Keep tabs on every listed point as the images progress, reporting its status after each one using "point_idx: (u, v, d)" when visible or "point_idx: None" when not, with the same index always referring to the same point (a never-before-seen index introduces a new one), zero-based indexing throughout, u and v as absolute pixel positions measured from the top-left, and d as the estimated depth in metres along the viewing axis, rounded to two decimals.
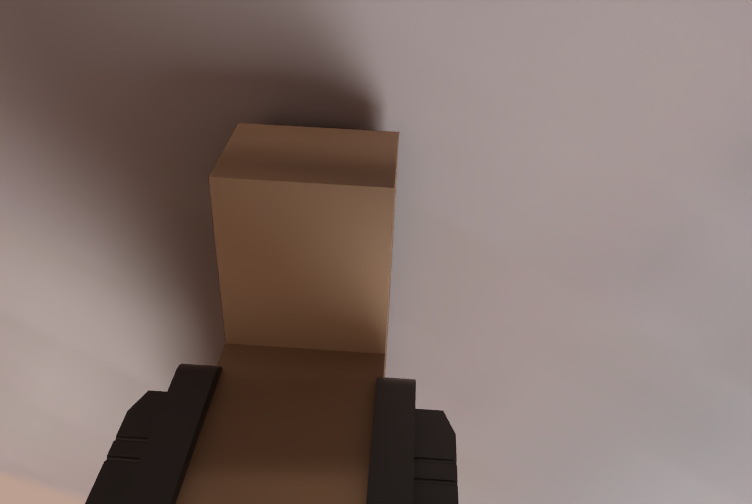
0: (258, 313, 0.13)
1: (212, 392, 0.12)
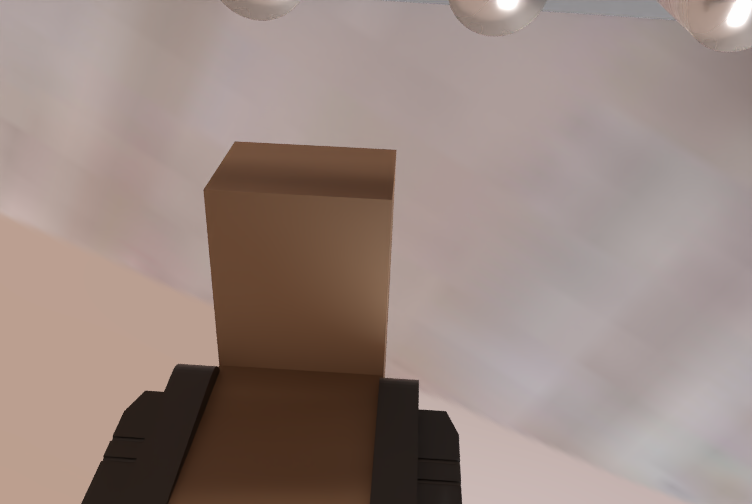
0: (252, 332, 0.13)
1: (209, 392, 0.12)
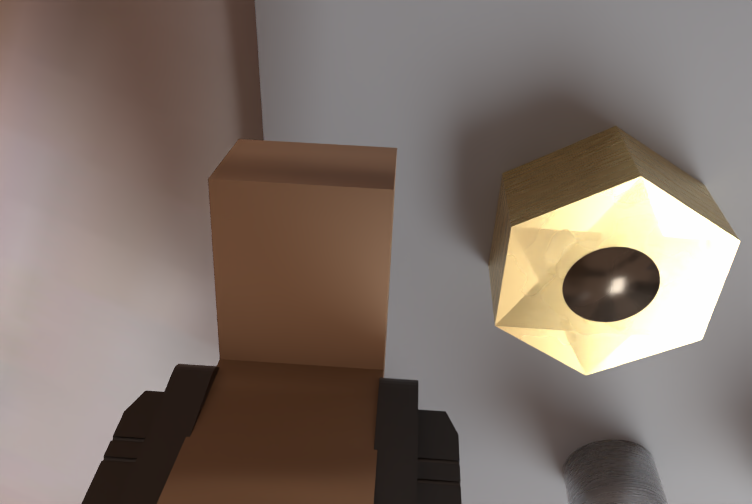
0: (254, 325, 0.13)
1: None
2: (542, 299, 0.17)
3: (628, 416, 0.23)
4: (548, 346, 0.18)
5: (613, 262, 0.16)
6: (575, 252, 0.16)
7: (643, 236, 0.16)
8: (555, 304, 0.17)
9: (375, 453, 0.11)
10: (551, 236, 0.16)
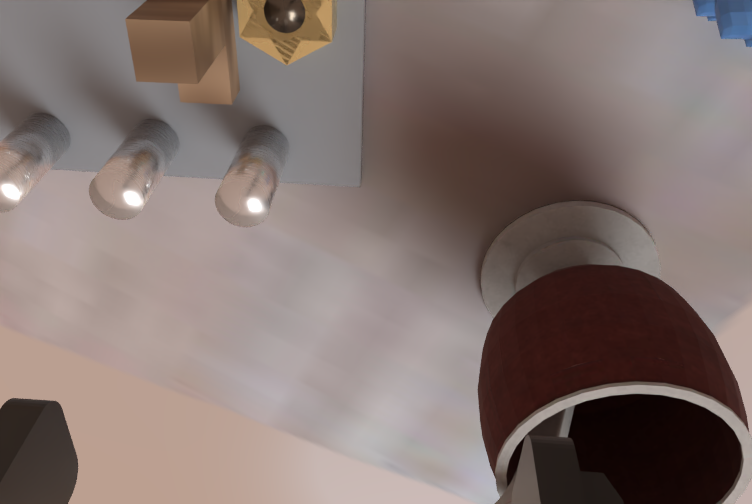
0: None
1: (39, 430, 0.11)
2: (256, 20, 0.38)
3: (150, 102, 0.44)
4: (266, 48, 0.39)
5: None
6: None
7: None
8: (263, 23, 0.38)
9: None
10: None
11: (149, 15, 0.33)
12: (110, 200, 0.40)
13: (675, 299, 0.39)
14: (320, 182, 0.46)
